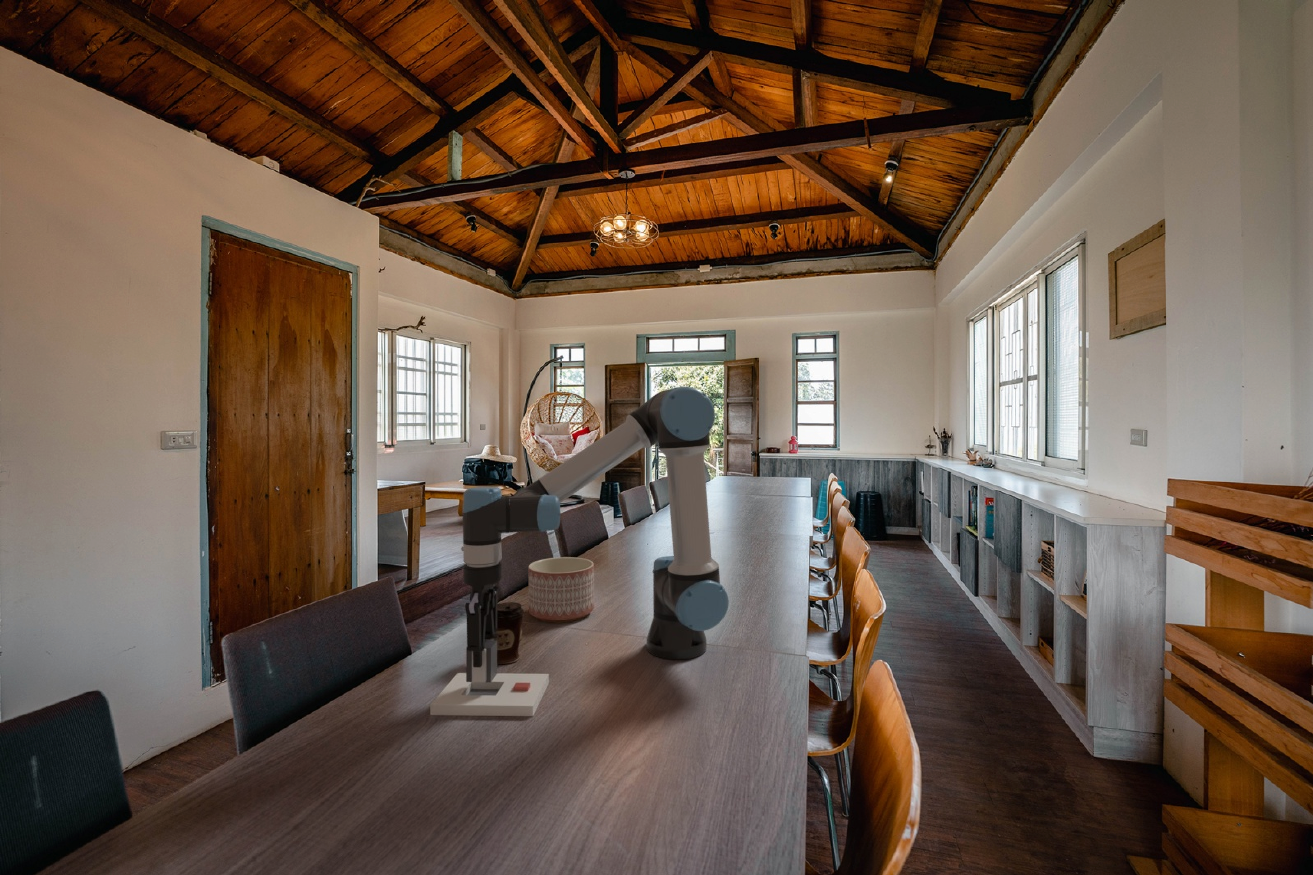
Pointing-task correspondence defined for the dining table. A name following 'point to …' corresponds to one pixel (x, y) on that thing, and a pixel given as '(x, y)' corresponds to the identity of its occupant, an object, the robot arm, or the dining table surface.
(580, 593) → the planter
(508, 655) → the coffee cup
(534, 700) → the faceplate
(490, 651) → the plug
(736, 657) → the dining table surface
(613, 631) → the dining table surface
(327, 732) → the dining table surface
